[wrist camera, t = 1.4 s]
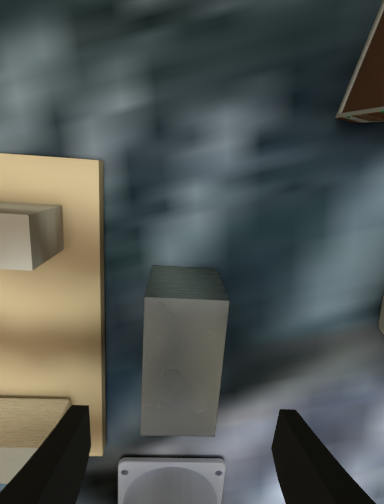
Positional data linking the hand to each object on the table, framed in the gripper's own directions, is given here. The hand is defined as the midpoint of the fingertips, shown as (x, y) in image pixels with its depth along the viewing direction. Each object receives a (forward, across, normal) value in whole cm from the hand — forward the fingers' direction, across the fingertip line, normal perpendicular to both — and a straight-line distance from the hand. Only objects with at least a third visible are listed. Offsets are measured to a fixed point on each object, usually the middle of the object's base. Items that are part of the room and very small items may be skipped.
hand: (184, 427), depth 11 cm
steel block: (+9, 0, +1) cm, 9 cm away
